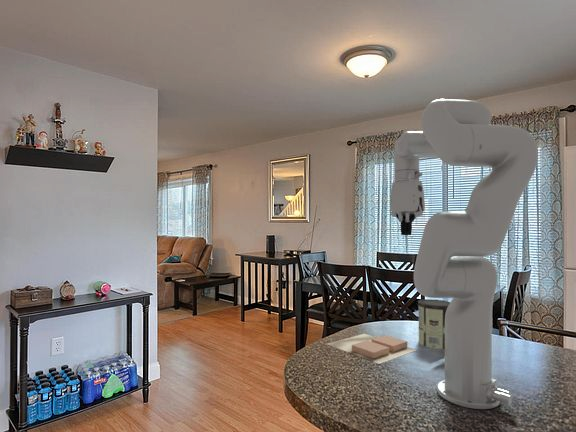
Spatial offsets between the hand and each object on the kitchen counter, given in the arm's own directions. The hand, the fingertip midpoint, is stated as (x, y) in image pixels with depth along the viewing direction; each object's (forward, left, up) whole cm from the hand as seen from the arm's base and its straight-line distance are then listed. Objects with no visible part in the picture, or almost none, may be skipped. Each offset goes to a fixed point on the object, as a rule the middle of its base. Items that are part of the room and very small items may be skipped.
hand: (406, 234), depth 116 cm
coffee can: (-6, -7, -35) cm, 37 cm away
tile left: (+5, +16, -33) cm, 37 cm away
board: (+4, +12, -35) cm, 37 cm away
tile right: (+5, +7, -33) cm, 34 cm away
